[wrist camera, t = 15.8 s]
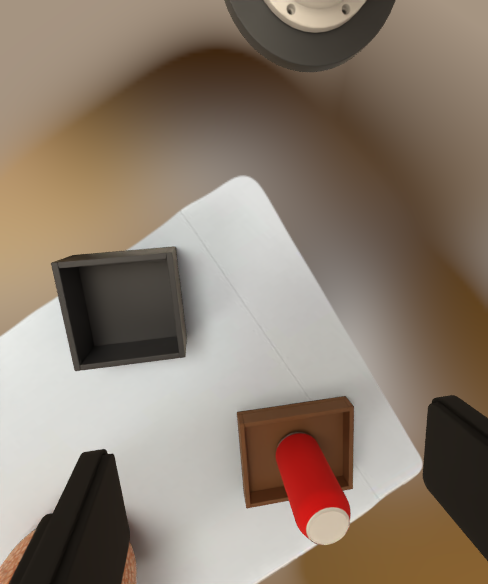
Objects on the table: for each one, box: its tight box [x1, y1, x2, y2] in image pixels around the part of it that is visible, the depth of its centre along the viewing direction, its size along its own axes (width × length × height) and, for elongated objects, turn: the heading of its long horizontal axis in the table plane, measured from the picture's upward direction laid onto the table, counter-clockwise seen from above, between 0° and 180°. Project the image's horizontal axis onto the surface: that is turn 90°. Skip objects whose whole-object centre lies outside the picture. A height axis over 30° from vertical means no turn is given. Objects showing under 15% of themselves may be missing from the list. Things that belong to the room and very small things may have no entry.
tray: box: [237, 396, 354, 508], centre depth 45 cm, size 15×13×3 cm
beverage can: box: [276, 432, 350, 545], centre depth 40 cm, size 6×6×12 cm
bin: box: [51, 247, 187, 371], centre depth 35 cm, size 11×11×6 cm
